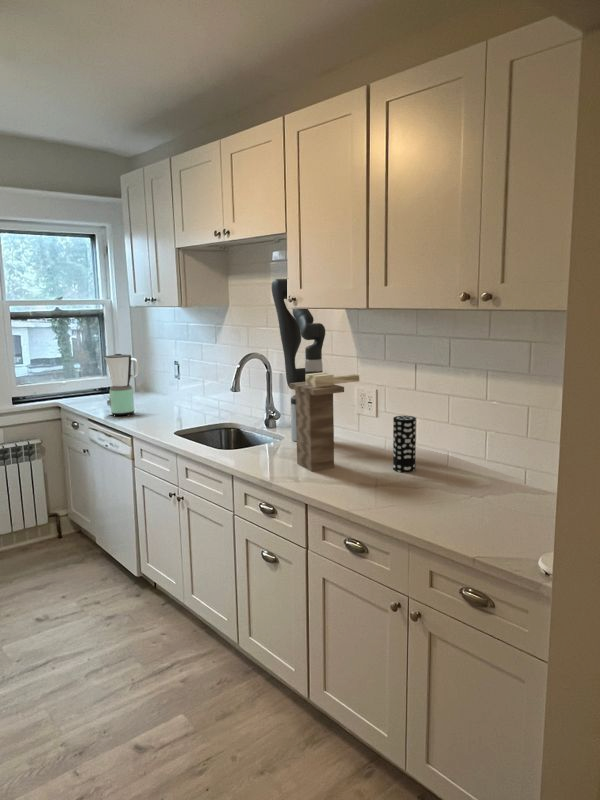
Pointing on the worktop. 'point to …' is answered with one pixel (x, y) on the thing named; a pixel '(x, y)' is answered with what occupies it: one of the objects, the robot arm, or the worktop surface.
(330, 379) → the beige stepped hammer block
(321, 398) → the wooden t-shaped post
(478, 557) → the worktop surface
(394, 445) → the spotted tube
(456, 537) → the worktop surface
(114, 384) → the mint green blender
